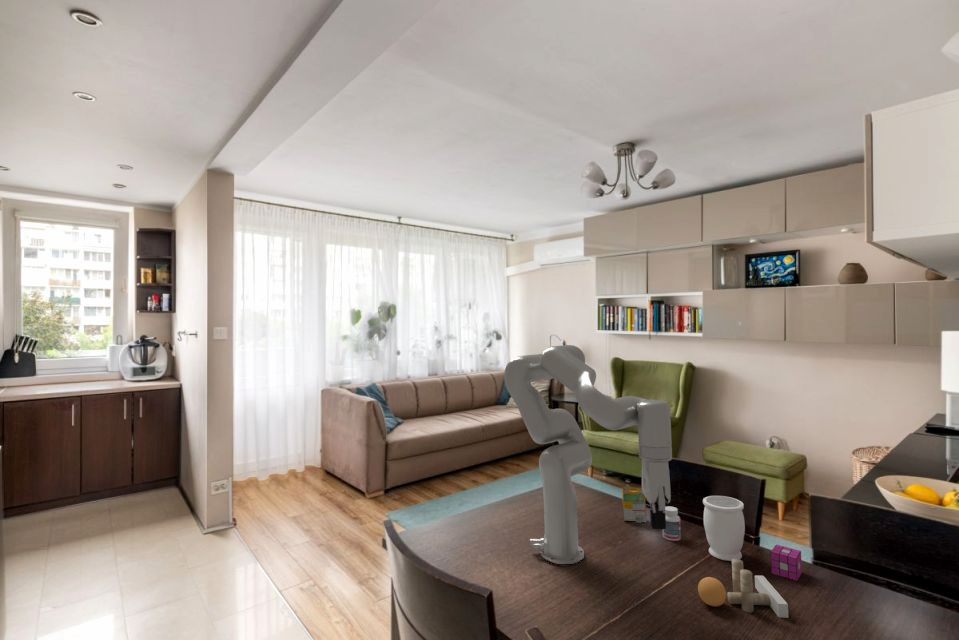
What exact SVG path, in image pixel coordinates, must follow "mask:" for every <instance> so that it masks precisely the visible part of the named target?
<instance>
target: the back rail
mask: <svg viewBox="0 0 959 640" xmlns="http://www.w3.org/2000/svg"><path fill="white" fill-rule="evenodd" d="M754 589H756V590H757V593H766V594H768V596H769V599H770V605H768V606H769V607H770V608H771V610H772V611H774V613H775V615H776V616H777V618H786V619H787V618H788V619H789V604H788V602H787V601H786V600H785V599H784V598H783V597H782V596H781V594H780V593H779V592H778V591H777V590H776V589H775V588H774V586H773V585H772V584H771V583H770V582H769V581H768V580H767V578H766V577H765V576H764V575H754Z"/></svg>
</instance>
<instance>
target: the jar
mask: <svg viewBox="0 0 959 640" xmlns="http://www.w3.org/2000/svg"><path fill="white" fill-rule="evenodd" d="M702 504H703V505H704V508H703V509H704V510H703V527H704V532H705V537H706V540H707V543H708V545H709V546H710V547H709V548H708V553H709V554H710V555H711V556H712V557H714V558H716V559H718V560H722V561H726V562H727V561H728V562H732V559H739V560H741V559H742V557H743V554H742V552H741V550H742V548H743V545H744V540H745V532H746V525H745V516H744V512H743V510H744V508H745V507H744V506H745V505H744V503H743V501H741V500H739V499H737V498H734V497H730V496H725V495H709V496H706V497H703V499H702Z"/></svg>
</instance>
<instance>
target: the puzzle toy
mask: <svg viewBox="0 0 959 640" xmlns="http://www.w3.org/2000/svg"><path fill="white" fill-rule="evenodd" d="M770 563H771V565H770V566H771V570H770V571H771V574H773V575H774V576H775V575H776V576H779V577H782V576H783V577H782V578H785V577H787V578H786V579H789V578H790V579H789V580H792V579H793V581H795V580H796V582H798V581H797V580H799V578H800V577H801V575H802V573H803V569H802V568H803V567H802V550H799V549H795V548H792V547H787V546H783V545H780V544H775V545H774V547H773V548H772V549H771V551H770Z"/></svg>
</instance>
